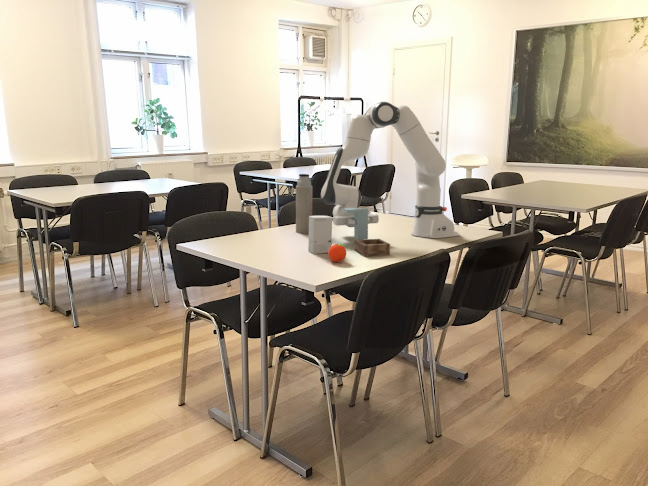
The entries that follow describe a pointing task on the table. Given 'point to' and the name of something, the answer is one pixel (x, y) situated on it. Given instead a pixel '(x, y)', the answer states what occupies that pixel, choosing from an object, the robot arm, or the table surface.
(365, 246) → the well block
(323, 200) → the robot arm
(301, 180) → the thermos bottle
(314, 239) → the skincare box
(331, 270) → the table surface
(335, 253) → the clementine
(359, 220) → the bracket
